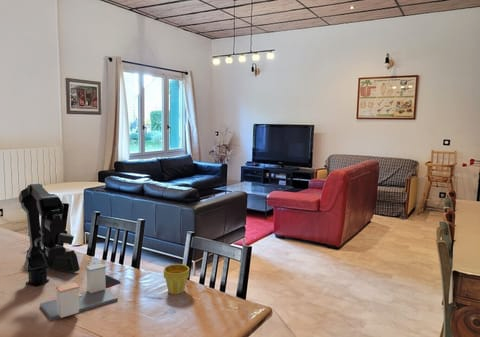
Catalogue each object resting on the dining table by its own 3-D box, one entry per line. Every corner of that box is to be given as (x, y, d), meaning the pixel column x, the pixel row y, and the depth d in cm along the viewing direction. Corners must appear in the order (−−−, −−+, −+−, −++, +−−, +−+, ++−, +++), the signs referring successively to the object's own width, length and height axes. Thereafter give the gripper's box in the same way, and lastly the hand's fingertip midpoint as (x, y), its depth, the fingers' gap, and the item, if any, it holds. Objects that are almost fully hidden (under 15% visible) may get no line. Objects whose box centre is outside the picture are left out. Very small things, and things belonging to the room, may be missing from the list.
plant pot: (182, 298, 149) (182, 274, 148) (158, 294, 152) (159, 271, 151) (192, 288, 159) (193, 265, 158) (170, 284, 162) (171, 262, 161)
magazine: (84, 254, 170) (37, 227, 179) (78, 256, 167) (31, 229, 176) (75, 287, 173) (30, 258, 183) (70, 289, 170) (24, 261, 180)
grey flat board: (40, 306, 138) (40, 302, 138) (103, 289, 155) (103, 285, 155) (51, 320, 129) (51, 316, 129) (117, 300, 145) (117, 296, 145)
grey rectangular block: (86, 289, 150) (85, 266, 149) (101, 285, 155) (101, 263, 154) (90, 293, 147) (90, 270, 146) (106, 289, 152) (106, 266, 151)
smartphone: (101, 272, 171) (121, 281, 162) (101, 274, 171) (121, 283, 162) (86, 277, 165) (106, 286, 156) (86, 279, 165) (106, 288, 156)
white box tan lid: (56, 313, 131) (55, 287, 130) (75, 307, 135) (74, 282, 134) (60, 318, 128) (60, 291, 127) (79, 312, 132) (79, 286, 131)
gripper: (80, 230, 142) (80, 270, 143) (63, 220, 155) (64, 256, 157) (48, 235, 134) (49, 277, 136) (33, 224, 148) (34, 262, 149)
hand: (50, 267), depth 145 cm, fingers closed
